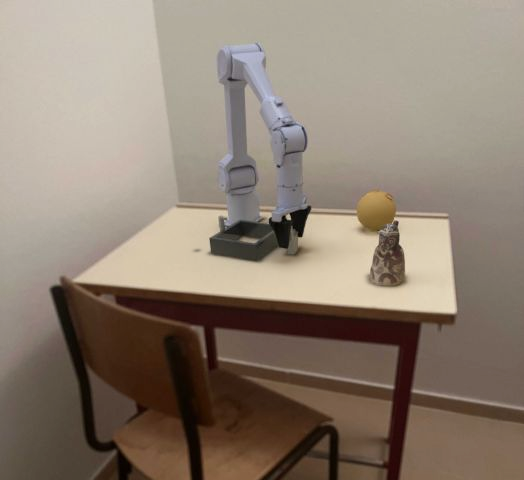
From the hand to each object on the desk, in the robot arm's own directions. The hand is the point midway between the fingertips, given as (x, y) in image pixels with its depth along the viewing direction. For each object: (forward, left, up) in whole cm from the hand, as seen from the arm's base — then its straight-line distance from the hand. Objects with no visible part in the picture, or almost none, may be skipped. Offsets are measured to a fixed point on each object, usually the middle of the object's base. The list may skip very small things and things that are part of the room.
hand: (291, 242), depth 122 cm
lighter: (0, 0, -3) cm, 3 cm away
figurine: (+5, +25, -3) cm, 26 cm away
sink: (0, -12, -3) cm, 12 cm away
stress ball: (-23, +13, -3) cm, 27 cm away
